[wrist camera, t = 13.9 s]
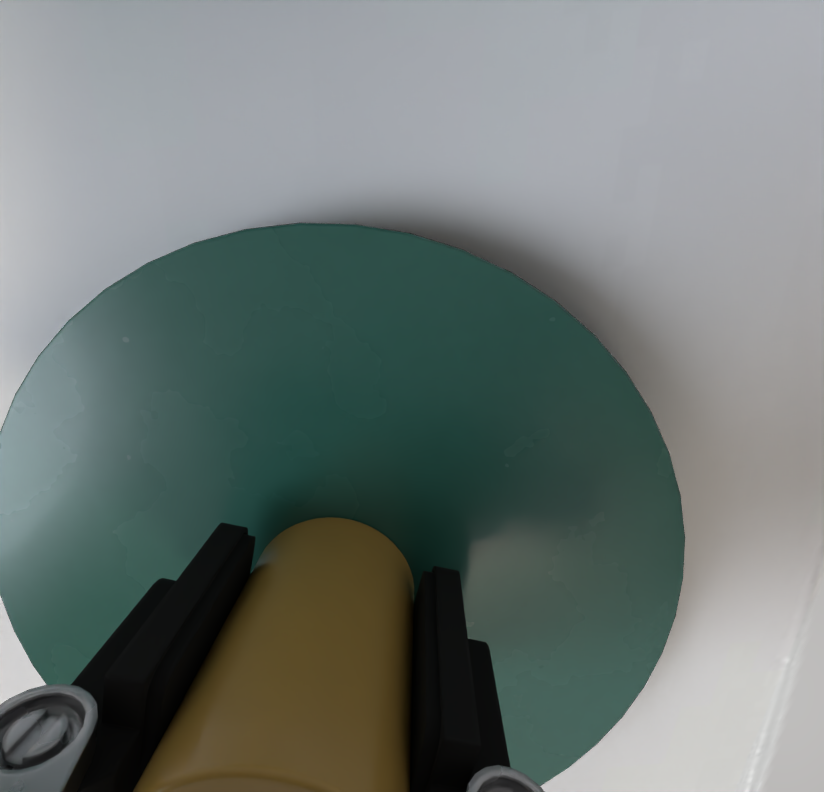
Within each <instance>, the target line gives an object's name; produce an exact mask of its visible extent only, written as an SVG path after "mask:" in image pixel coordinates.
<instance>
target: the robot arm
mask: <svg viewBox="0 0 824 792" xmlns="http://www.w3.org/2000/svg"><path fill="white" fill-rule="evenodd" d="M255 540H256V538H255V536H251V535H248V528H247V527H243V526H238V525H233V524H228V523H223V522H222V523H220V524H219V525H218V526H217V528H216V529H215V530H214V532H213V533H212V534H211V536H210V537H209V538H208V539H207V541H206V542H205V543H204V545H203V546H202V547H201V549H200V550H199V551H198V553H197V554H196V555H195V557H194V558H193V559H192V561H191V562H190V563H189V565H188V566H187V567H186V568H185V570H184V571H183V572H182V574H181V575H180V576H179V578H178V579H177V580H176V581H175V580H170V579H165V578H161V579H158V580H157V581H156V582H155V583H154V584H153V585H152V586H151V588H150V589H149V590H148V591H147V593H146V594H145V595H144V596H143V597H142V599H141V600H140V601H139V602H138V603H137V605H136V606H135V607H134V608H133V610H132V611H131V612H130V613H129V614H128V616H127V617H126V618H125V619H124V621H123V622H122V623H121V624H120V625H119V627H118V628H117V629H116V630H115V631H114V633H113V634H112V635H111V636H110V638H109V639H108V640H107V641H106V642H105V644H104V645H103V646H102V647H101V649H100V650H99V651H98V652H97V653H96V655H95V656H94V657H93V658H92V660H91V661H90V662H89V663H88V664H87V666H86V667H85V668H84V669H83V670H82V672H81V673H80V674H79V675H78V677H77V678H76V679H75V680H74V681H73V683H72V684H71V685H68V684H52V685H44V686H41V687H37V688H33V689H29V690H27V691H24V692H22V693H20V694H18V695H16V696H14V697H12V698H10V699H8V700H6V701H5V702H3V703H2V704H1V705H0V792H133V790H134V788H135V786H136V785H137V783H138V781H139V779H140V777H141V775H142V774H143V772H144V770H145V768H146V766H147V764H148V762H149V761H150V759H151V757H152V755H153V753H154V751H155V750H156V748H157V746H158V744H159V742H160V740H161V739H162V737H163V735H164V733H165V731H166V729H167V727H168V726H169V724H170V722H171V720H172V718H173V716H174V715H175V713H176V711H177V709H178V707H179V705H180V703H181V702H182V700H183V698H184V696H185V694H186V692H187V691H188V689H189V687H190V685H191V683H192V681H193V679H194V678H195V676H196V674H197V672H198V670H199V668H200V667H201V665H202V663H203V661H204V659H205V657H206V656H207V654H208V652H209V650H210V648H211V646H212V644H213V643H214V641H215V639H216V637H217V635H218V633H219V632H220V630H221V628H222V626H223V624H224V622H225V620H226V619H227V617H228V615H229V613H230V611H231V609H232V608H233V606H234V604H235V602H236V600H237V598H238V597H239V595H240V593H241V591H242V589H243V587H244V585H245V584H246V582H247V580H248V578H249V576H250V574H251V567H252V561H253V554H254V548H255ZM410 792H544V791H543V789H542V788H541V787H540V786H539V785H538V784H537V783H536V782H535V781H533V780H532V779H531V778H530V777H528V776H527V775H526V774H524V773H522V772H520V771H518V770H516V769H514V768H511V767H510V761H509V756H508V750H507V744H506V739H505V733H504V727H503V722H502V716H501V711H500V705H499V699H498V694H497V688H496V682H495V677H494V671H493V665H492V660H491V654H490V649H489V646H488V644H487V643H486V642H483V641H478V640H473V639H468V635H467V627H466V619H465V611H464V603H463V595H462V587H461V579H460V573H459V571H458V570H453V569H448V568H443V567H438V566H434V567H433V569H432V572H428V571H423V573H422V576H421V580H420V583H419V587H418V591H417V595H416V599H415V602H414V617H413V666H412V714H411V763H410Z"/></svg>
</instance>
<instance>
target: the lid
mask: <svg viewBox="0 0 824 792" xmlns="http://www.w3.org/2000/svg"><path fill="white" fill-rule="evenodd" d="M222 522H223V523H228V524H233V525H238V526H243V527H247V528H248V535H251V536H255V538H256V540H255V548H254V554H253V561H252V567H251V574H250V576H249V578H248V580H247V582H246V584H245V585H244V587H243V589H242V591H241V593H240V595H239V597H238V598H237V600H236V602H235V604H234V606H233V608H232V609H231V611H230V613H229V615H228V617H227V619H226V620H225V622H224V624H223V626H222V628H221V630H220V632H219V633H218V635H217V637H216V639H215V641H214V643H213V644H212V646H211V648H210V650H209V652H208V654H207V656H206V657H205V659H204V661H203V663H202V665H201V667H200V668H199V670H198V672H197V674H196V676H195V678H194V679H193V681H192V683H191V685H190V687H189V689H188V691H187V692H186V694H185V696H184V698H183V700H182V702H181V703H180V705H179V707H178V709H177V711H176V713H175V715H174V716H173V718H172V720H171V722H170V724H169V726H168V727H167V729H166V731H165V733H164V735H163V737H162V739H161V740H160V742H159V744H158V746H157V748H156V750H155V751H154V753H153V755H152V757H151V759H150V761H149V762H148V764H147V766H146V768H145V770H144V772H143V774H142V775H141V777H140V779H139V781H138V783H137V785H136V786H135V788H134V790H133V792H410V763H411V714H412V666H413V617H414V602H415V599H416V595H417V591H418V587H419V583H420V580H421V576H422V573H423V571H428V572H432V569H433V567H434V566H438V567H443V568H448V569H453V570H458V571H459V573H460V579H461V587H462V595H463V603H464V611H465V619H466V627H467V635H468V639H473V640H478V641H483V642H486V643H487V644H488V646H489V649H490V654H491V660H492V665H493V671H494V677H495V682H496V688H497V694H498V699H499V705H500V711H501V716H502V722H503V727H504V733H505V739H506V744H507V750H508V756H509V761H510V767H511V768H514V769H516V770H518V771H520V772H522V773H524V774H526V775H527V776H528V777H530V778H531V779H532V780H533V781H535V782H536V783H537V784H538V785H539V786H541V785H542V784H544V783H546V782H547V781H549V780H550V779H552V778H553V777H555V776H556V775H558V774H559V773H561V772H563V771H564V770H566V769H567V768H569V767H570V766H571V765H572V764H573V763H575V762H576V761H577V760H578V759H579V758H581V757H582V756H583V755H584V754H585V753H587V752H588V751H589V750H590V749H592V748H593V747H594V746H595V745H596V744H597V743H598V742H599V741H600V740H601V739H602V738H603V737H604V736H605V735H606V734H607V733H608V732H609V731H610V730H611V729H612V727H613V726H614V725H615V724H616V723H617V722H618V721H619V720H620V719H621V718H622V717H623V715H624V714H625V713H626V711H627V710H628V709H629V707H630V706H631V704H632V703H633V702H634V700H635V699H636V697H637V696H638V695H639V693H640V692H641V690H642V689H643V688H644V686H645V684H646V683H647V681H648V679H649V677H650V675H651V673H652V671H653V669H654V667H655V666H656V664H657V662H658V660H659V658H660V656H661V654H662V652H663V649H664V647H665V644H666V641H667V638H668V635H669V633H670V630H671V627H672V624H673V621H674V619H675V615H676V610H677V606H678V601H679V596H680V591H681V586H682V581H683V568H684V546H685V534H684V524H683V515H682V506H681V496H680V492H679V488H678V484H677V481H676V477H675V473H674V469H673V466H672V462H671V458H670V454H669V451H668V449H667V447H666V445H665V442H664V440H663V438H662V435H661V433H660V431H659V429H658V426H657V424H656V422H655V419H654V417H653V415H652V413H651V411H650V409H649V407H648V406H647V404H646V403H645V401H644V400H643V398H642V396H641V395H640V393H639V392H638V390H637V388H636V387H635V385H634V384H633V382H632V381H631V379H630V377H629V376H628V374H627V373H626V371H625V370H624V369H623V368H622V366H621V365H620V364H619V363H618V362H617V361H616V360H615V358H614V357H613V356H612V355H611V354H610V353H609V351H608V350H607V349H606V348H605V347H604V346H603V344H602V343H601V342H600V341H599V340H598V339H597V337H596V336H595V335H594V334H593V333H592V332H591V331H589V330H588V329H587V328H586V327H585V326H584V325H583V324H581V323H580V322H579V321H578V320H577V319H576V318H575V317H573V316H572V315H571V314H570V313H569V312H568V311H567V310H565V309H564V308H563V307H562V306H561V305H560V304H558V303H557V302H556V301H555V300H553V299H552V298H550V297H549V296H547V295H546V294H544V293H543V292H541V291H540V290H538V289H536V288H535V287H533V286H532V285H530V284H529V283H527V282H526V281H524V280H523V279H521V278H520V277H518V276H516V275H515V274H513V273H512V272H510V271H508V270H506V269H503V268H501V267H499V266H497V265H495V264H493V263H491V262H488V261H486V260H484V259H482V258H480V257H478V256H476V255H473V254H471V253H469V252H467V251H465V250H463V249H460V248H457V247H453V246H450V245H447V244H444V243H440V242H437V241H434V240H431V239H427V238H424V237H421V236H418V235H414V234H411V233H406V232H400V231H394V230H388V229H382V228H376V227H370V226H364V225H358V224H330V223H294V224H285V225H277V226H268V227H259V228H251V229H244V230H241V231H237V232H233V233H229V234H225V235H222V236H218V237H214V238H210V239H206V240H203V241H199V242H195V243H193V244H190V245H188V246H186V247H183V248H181V249H179V250H176V251H174V252H172V253H169V254H167V255H165V256H162V257H160V258H158V259H155V260H153V261H151V262H148V263H146V264H145V265H143V266H142V267H140V268H138V269H137V270H135V271H133V272H132V273H130V274H129V275H127V276H125V277H124V278H122V279H121V280H119V281H117V282H116V283H114V284H113V285H111V286H109V287H108V288H106V289H105V290H103V291H102V292H101V293H100V294H99V295H98V296H96V297H95V298H94V299H93V300H92V301H91V302H89V303H88V304H87V305H86V306H85V307H84V308H83V309H81V310H80V311H79V312H78V313H77V314H76V315H74V316H73V317H72V318H71V319H70V320H69V321H68V322H67V323H66V324H65V325H64V327H63V328H62V329H61V330H60V331H59V332H58V334H57V335H56V336H55V337H54V338H53V340H52V341H51V342H50V343H49V344H48V345H47V347H46V348H45V349H44V350H43V351H42V352H41V354H40V355H39V356H38V358H37V359H36V361H35V362H34V364H33V366H32V367H31V369H30V371H29V372H28V374H27V376H26V377H25V379H24V381H23V382H22V384H21V386H20V387H19V389H18V391H17V392H16V394H15V396H14V399H13V401H12V404H11V406H10V409H9V411H8V414H7V416H6V419H5V421H4V424H3V426H2V429H1V431H0V596H1V598H2V601H3V603H4V606H5V608H6V611H7V614H8V616H9V619H10V621H11V624H12V627H13V629H14V632H15V633H16V635H17V637H18V639H19V641H20V643H21V644H22V646H23V648H24V650H25V652H26V654H27V655H28V657H29V659H30V661H31V663H32V665H33V666H34V668H35V669H36V670H37V672H38V673H39V675H40V676H41V677H42V679H43V680H44V682H45V683H46V684H47V685H52V684H68V685H71V684H72V683H73V681H74V680H75V679H76V678H77V677H78V675H79V674H80V673H81V672H82V670H83V669H84V668H85V667H86V666H87V664H88V663H89V662H90V661H91V660H92V658H93V657H94V656H95V655H96V653H97V652H98V651H99V650H100V649H101V647H102V646H103V645H104V644H105V642H106V641H107V640H108V639H109V638H110V636H111V635H112V634H113V633H114V631H115V630H116V629H117V628H118V627H119V625H120V624H121V623H122V622H123V621H124V619H125V618H126V617H127V616H128V614H129V613H130V612H131V611H132V610H133V608H134V607H135V606H136V605H137V603H138V602H139V601H140V600H141V599H142V597H143V596H144V595H145V594H146V593H147V591H148V590H149V589H150V588H151V586H152V585H153V584H154V583H155V582H156V581H157V580H158V579H161V578H165V579H170V580H175V581H176V580H177V579H178V578H179V576H180V575H181V574H182V572H183V571H184V570H185V568H186V567H187V566H188V565H189V563H190V562H191V561H192V559H193V558H194V557H195V555H196V554H197V553H198V551H199V550H200V549H201V547H202V546H203V545H204V543H205V542H206V541H207V539H208V538H209V537H210V536H211V534H212V533H213V532H214V530H215V529H216V528H217V526H218V525H219V524H220V523H222Z"/></svg>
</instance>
